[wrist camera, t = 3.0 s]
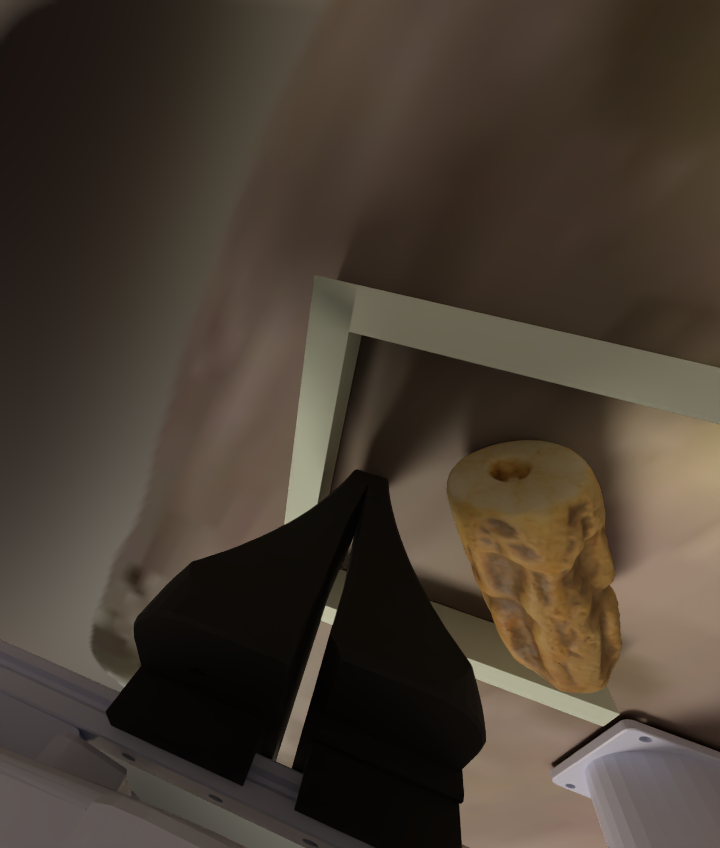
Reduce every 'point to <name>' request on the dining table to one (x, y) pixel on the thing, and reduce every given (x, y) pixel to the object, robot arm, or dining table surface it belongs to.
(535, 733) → the dining table surface
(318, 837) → the robot arm
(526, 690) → the pale grey flat frame
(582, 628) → the carved stone cylinder
